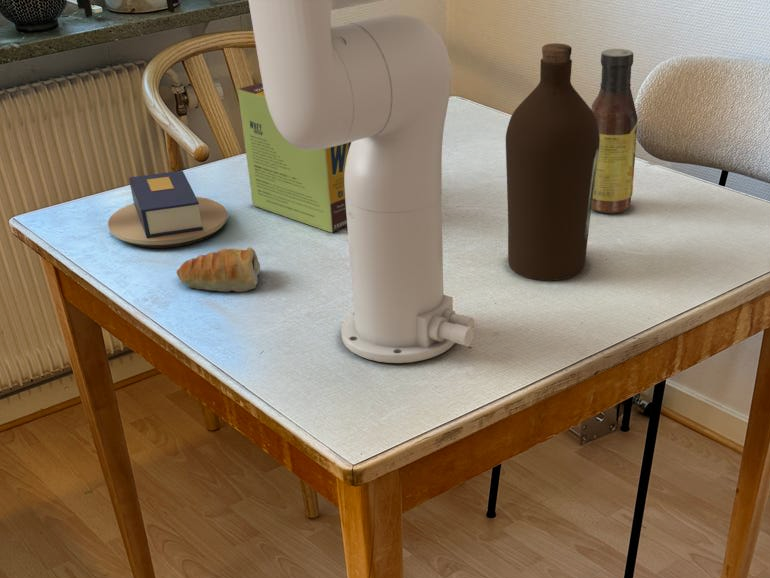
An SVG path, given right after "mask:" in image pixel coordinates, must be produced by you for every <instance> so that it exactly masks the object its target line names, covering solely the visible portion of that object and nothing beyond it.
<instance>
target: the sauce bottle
mask: <svg viewBox="0 0 770 578" xmlns="http://www.w3.org/2000/svg"><path fill="white" fill-rule="evenodd" d="M633 64H634V52H633V51H632V50H631V49H630V50H629V49H624V48H609V49H605V50H603V51H601V56H600V65H601V80H600V81H601V82H600V90H599V92H598V94H597V96H596V97H595V99H594V101H593V102H592V104H591V107H590V109H591V110H592V112H593V113H594V115H595V117H596V120H597V124H598V129H599V135H600V142H599V143H600V145H599V153H598V160H597V168H596V175H595V183H594V191H593V199H592V207H591V211H594V212H598V213H602V214H614V213H616V214H617V213H621V212H625V211H626V210H628V209H629V208H630V207H631V204H632V203H631V202H632V196H633V191H634V189H633V188H634V177H635V161H636V151H637V148H636V147H637V136H638V135H637V133H638V119H639V117H638V114H637V109H636V105H635V101H634V97H633V94H632V93H633V92H632V89H631V86H632V85H631V78H632V66H633Z"/></svg>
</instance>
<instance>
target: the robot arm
mask: <svg viewBox="0 0 770 578" xmlns="http://www.w3.org/2000/svg"><path fill="white" fill-rule="evenodd" d="M165 1H166V7H167V12H168V13H170V14H174V13H175V12H176V11H175V7H174V5H175V4H179V3H180V2H179V1H180V0H165ZM381 1H383V0H248V7H249V12H250V18H251V25H252V30H253V37H254V44H255V48H256V54H257V61H258V66H259V67H258V68H259V73H260V78H261V83H262V84H263V89H264V94H265V98H266V102H267V106H268V109H269V112H270V115H271V117H272V120H273V122H274V124H275V126H276V128H277V129H278V131H279V132H280V134H281V135H282V136H283V138H284V139H285V140H286V141H288V142H289V143H290V144H291V145H293V146H295V147H297V148H299V149H303V150H321V149H326V148H330V147H334V146H339V145H342V144H346V143H349V142H351V145H350V148H349V151H348V155H347V159H346V165H345V173H344V187H345V202H346V215H347V226H346V227H347V237H348V239H347V240H348V249H349V250H348V251H349V264H350V277H351V288H352V290H351V291H352V300H353V301H352V303H353V311H352V312H351V313H350V314H349V315H347V317H346V318H345V319H344V320H343V321H342V324H341V327H340V330H341V331H340V333H341V334H340V335H341V340H342V343H343V344H344V346H345V347H346V349H348V350H349V351H350V352H351V353H352V354H355V355H357V356H358V357H361V358H364V359H366V360H369V361H374V362H378V363H386V364H387V363H388V364H405V363H406V364H407V363H416V362H421V361H425V360H428V359H432V358H435V357H437V356H440V355H442V354H443V353H445V352H446V351H448V350H450V349H451V348H452V347H453V346H454V345H455V344H458V345H461V346H464V347H465V346H466V347H469V346H470V345H471V344H472V342H473V340H474V335H475V333H474V325H475V319H474V318H473V317H471V316H467V315H464V314H458V313H456V311H455V310H454V297H453V296H450V295H447V294H445V293H444V251H443V250H444V249H443V248H444V247H443V246H444V245H443V244H444V243H443V200H442V197H443V178H442V176H443V174H442V173H443V171H442V170H443V167H442V166H443V165H442V164H443V163H442V162H443V161H442V159H443V142H444V130H445V125H446V124H445V123H446V117H447V111H448V106H449V101H450V94H451V86H452V84H451V82H452V67H451V62H450V61H451V60H450V56H449V53H448V49H447V47H446V44H445V43H444V39H442V37H441V36H440V34H439V33H438V32H437V31H436V30H435V28H434V27H432V26H431V25H430V24H429V23H428V22H426V21H424V20H422V19H420V18H417V17H414V16H410V15H404V14H389V15H388V14H387V15H381V16H380V15H379V16H375V17H371V18H370V17H369V18H366V19H365V18H364V19H360V20H355V21H350V22H347V23H346V22H345V23H342V24H338V25H333V26H332V19H331V18H332V17H331V16H332V11H335V10H340V9H345V8H350V7H356V6H361V5H368V4H372V3H377V2H381ZM76 4H77V9H78V10H84V14H85V18H86V19H89V18H91V17H93V8H92V2H91V0H76Z"/></svg>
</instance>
